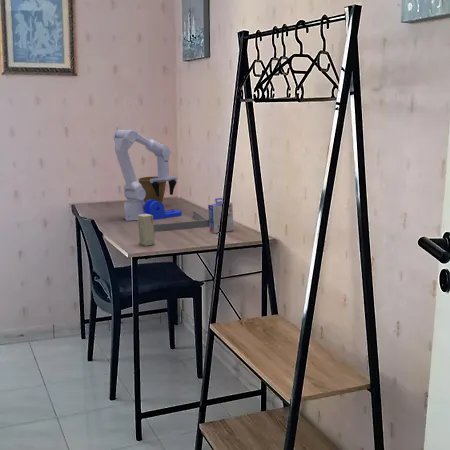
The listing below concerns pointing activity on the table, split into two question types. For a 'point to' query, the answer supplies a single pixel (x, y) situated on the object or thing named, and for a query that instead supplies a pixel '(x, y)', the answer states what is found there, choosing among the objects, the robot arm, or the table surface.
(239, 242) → the table surface
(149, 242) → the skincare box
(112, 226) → the table surface
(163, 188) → the plant pot
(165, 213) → the bracket
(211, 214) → the ink cartridge box
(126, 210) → the robot arm
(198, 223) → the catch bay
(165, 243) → the table surface
